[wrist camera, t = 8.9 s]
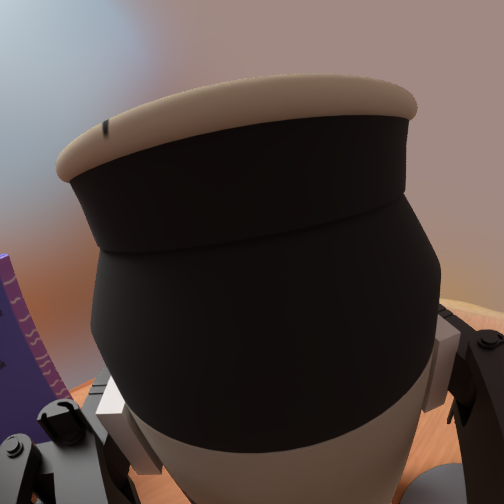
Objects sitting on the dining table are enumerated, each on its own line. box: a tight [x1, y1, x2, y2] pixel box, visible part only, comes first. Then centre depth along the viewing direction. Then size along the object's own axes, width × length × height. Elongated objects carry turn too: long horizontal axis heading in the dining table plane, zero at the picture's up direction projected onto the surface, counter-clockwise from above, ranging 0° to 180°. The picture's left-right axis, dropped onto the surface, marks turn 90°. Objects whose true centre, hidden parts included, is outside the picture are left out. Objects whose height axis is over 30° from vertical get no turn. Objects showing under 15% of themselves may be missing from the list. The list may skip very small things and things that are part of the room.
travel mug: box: [56, 74, 441, 504], centre depth 9 cm, size 8×8×18 cm
